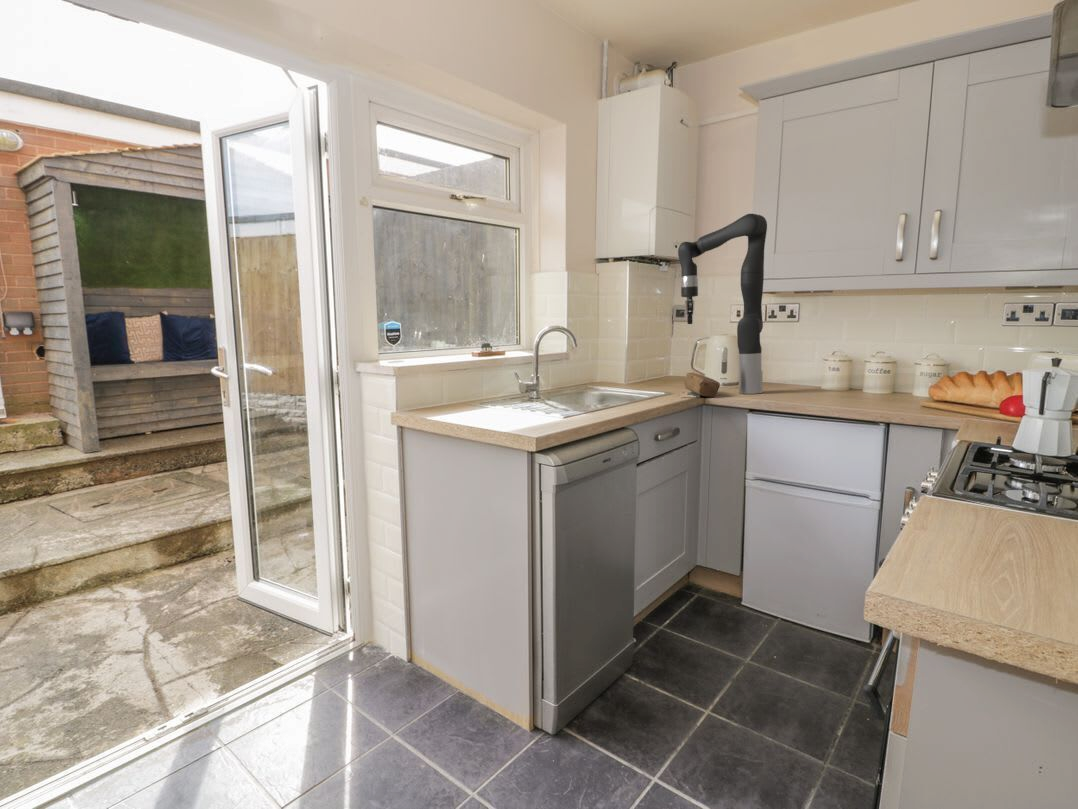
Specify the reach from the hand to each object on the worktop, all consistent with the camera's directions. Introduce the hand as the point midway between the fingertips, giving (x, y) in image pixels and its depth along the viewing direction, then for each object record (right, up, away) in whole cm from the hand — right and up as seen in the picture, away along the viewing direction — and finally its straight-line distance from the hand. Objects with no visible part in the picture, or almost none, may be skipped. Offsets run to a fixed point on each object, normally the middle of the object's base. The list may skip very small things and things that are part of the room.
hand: (689, 324), depth 272 cm
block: (0, -27, -9) cm, 29 cm away
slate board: (-5, -34, -19) cm, 39 cm away
